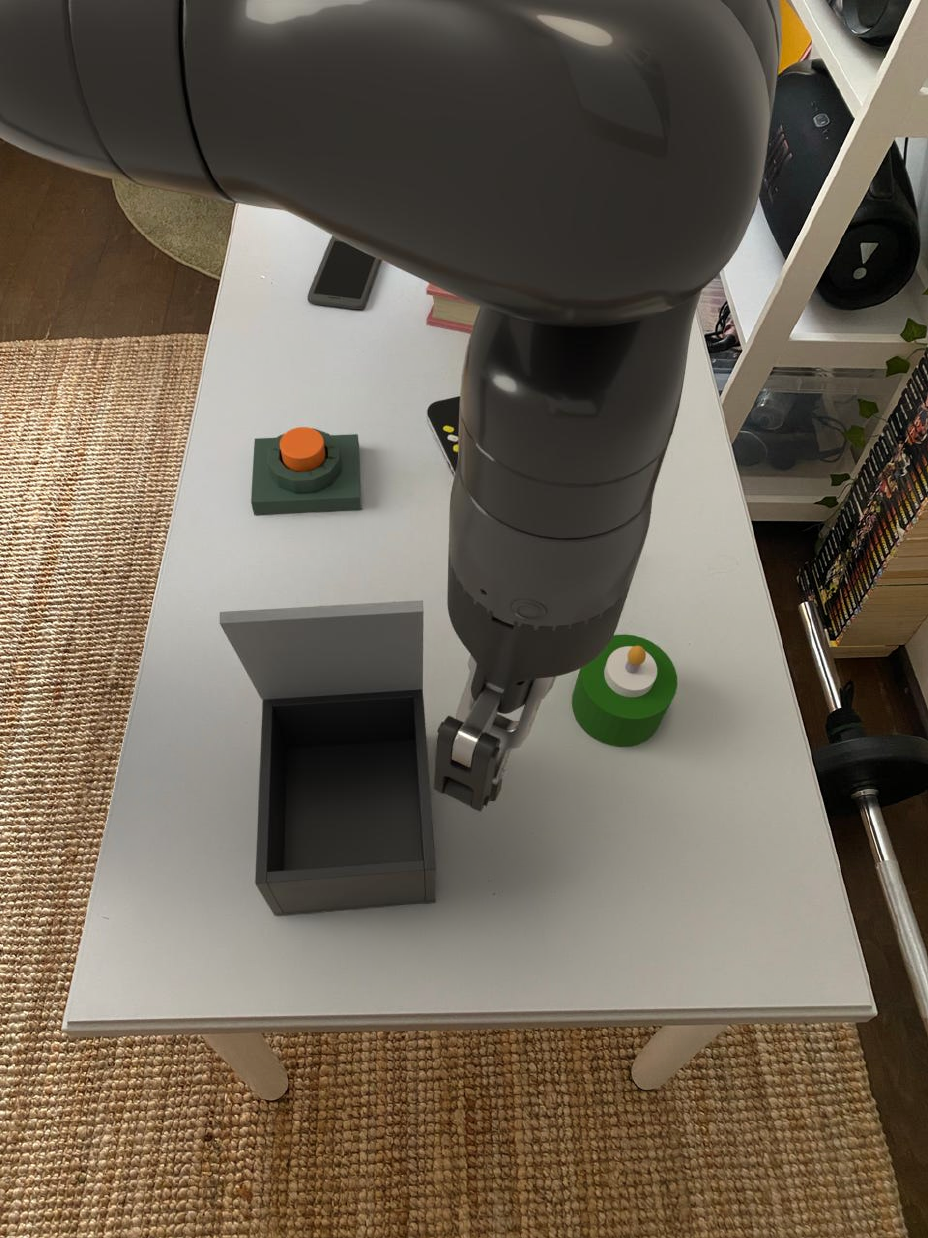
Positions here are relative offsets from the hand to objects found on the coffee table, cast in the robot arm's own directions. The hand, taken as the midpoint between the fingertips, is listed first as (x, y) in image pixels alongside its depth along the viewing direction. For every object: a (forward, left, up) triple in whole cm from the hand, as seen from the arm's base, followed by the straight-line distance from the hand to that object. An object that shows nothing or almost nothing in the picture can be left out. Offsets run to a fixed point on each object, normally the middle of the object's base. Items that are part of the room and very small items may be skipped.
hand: (512, 724), depth 48 cm
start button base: (-15, +43, -26) cm, 53 cm away
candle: (+13, +14, -27) cm, 33 cm away
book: (+9, +72, -27) cm, 77 cm away
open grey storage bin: (-11, +5, -26) cm, 29 cm away
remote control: (+3, +47, -27) cm, 54 cm away
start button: (-15, +43, -23) cm, 51 cm away
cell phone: (-10, +78, -26) cm, 83 cm away
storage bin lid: (-11, +11, -10) cm, 18 cm away
